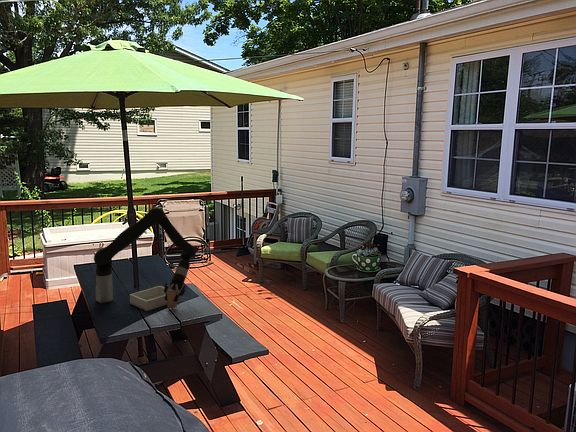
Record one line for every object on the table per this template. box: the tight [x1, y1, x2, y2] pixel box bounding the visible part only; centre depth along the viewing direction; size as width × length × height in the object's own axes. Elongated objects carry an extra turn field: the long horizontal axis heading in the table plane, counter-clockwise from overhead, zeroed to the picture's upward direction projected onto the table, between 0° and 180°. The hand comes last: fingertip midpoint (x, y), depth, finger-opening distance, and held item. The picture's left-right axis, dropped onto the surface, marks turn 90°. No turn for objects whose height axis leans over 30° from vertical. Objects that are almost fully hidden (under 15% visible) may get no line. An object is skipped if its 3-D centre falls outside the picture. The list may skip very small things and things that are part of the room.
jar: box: [166, 288, 178, 309], centre depth 275 cm, size 6×6×10 cm
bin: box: [129, 285, 167, 312], centre depth 286 cm, size 22×18×6 cm
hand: (170, 300), depth 274 cm, fingers closed on jar, 5 cm apart
